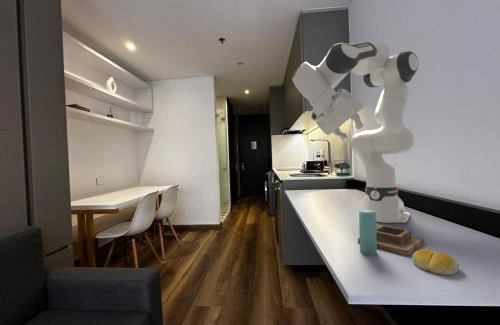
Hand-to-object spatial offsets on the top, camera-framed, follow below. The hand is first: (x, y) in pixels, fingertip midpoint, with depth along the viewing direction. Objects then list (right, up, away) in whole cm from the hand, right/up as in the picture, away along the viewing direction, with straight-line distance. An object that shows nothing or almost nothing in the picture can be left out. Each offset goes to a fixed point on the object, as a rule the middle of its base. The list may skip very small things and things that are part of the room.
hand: (353, 133), depth 80 cm
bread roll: (+11, -36, -21) cm, 44 cm away
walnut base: (+10, -36, -5) cm, 37 cm away
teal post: (-1, -36, -11) cm, 38 cm away
